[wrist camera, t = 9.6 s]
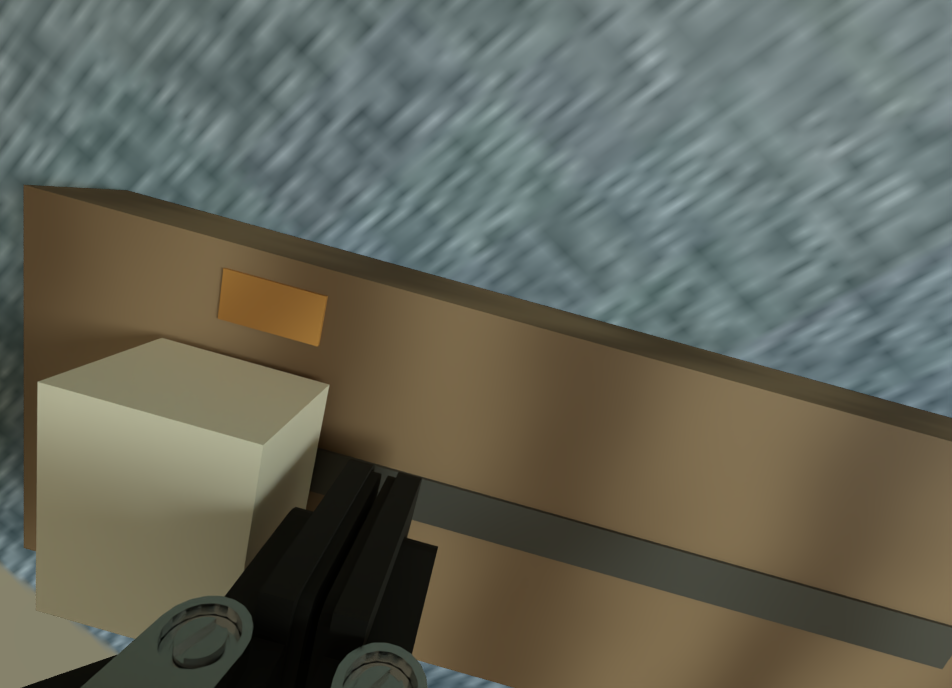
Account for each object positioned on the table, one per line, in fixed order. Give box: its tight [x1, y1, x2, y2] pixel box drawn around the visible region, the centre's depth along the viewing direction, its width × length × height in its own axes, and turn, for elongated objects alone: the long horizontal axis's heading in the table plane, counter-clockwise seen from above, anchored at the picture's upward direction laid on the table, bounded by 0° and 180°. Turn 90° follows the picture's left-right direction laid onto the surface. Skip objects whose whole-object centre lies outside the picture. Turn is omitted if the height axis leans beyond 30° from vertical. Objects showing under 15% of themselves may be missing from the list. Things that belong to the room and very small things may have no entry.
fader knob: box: [36, 338, 329, 639], centre depth 10 cm, size 4×5×3 cm
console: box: [24, 185, 952, 688], centre depth 14 cm, size 28×10×3 cm, turn 75°
